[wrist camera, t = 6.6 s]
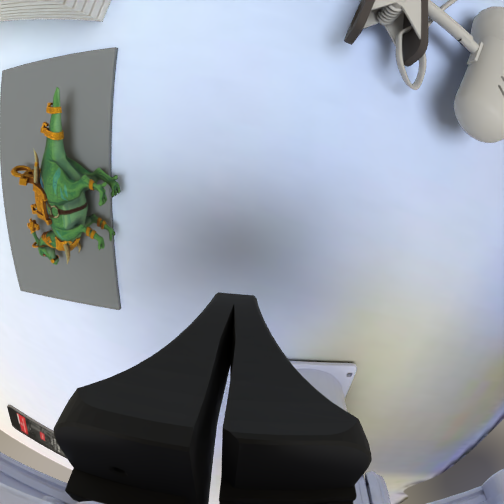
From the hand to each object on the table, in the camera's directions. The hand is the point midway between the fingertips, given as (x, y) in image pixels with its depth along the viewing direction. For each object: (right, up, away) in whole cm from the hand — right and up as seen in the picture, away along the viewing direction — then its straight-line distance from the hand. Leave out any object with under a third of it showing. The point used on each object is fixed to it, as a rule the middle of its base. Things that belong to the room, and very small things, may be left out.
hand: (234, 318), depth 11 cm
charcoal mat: (-13, +7, +8) cm, 17 cm away
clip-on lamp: (+14, +18, +2) cm, 23 cm away
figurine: (-7, +5, +6) cm, 11 cm away
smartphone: (-28, -24, +23) cm, 43 cm away
